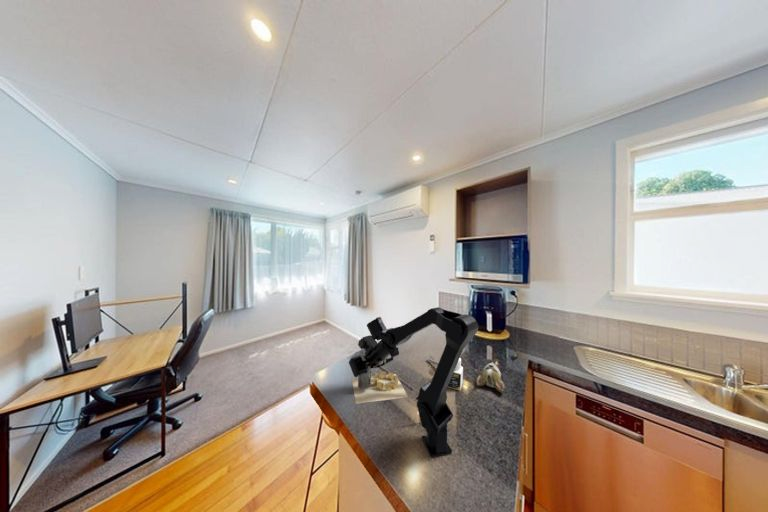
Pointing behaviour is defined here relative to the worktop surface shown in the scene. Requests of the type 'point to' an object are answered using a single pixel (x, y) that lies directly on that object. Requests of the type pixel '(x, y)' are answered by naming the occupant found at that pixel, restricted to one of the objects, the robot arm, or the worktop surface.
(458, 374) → the medicine bottle
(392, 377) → the ring nut
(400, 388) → the birch plate
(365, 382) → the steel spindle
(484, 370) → the ceramic sculpture
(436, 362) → the caliper
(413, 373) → the worktop surface
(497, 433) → the worktop surface
